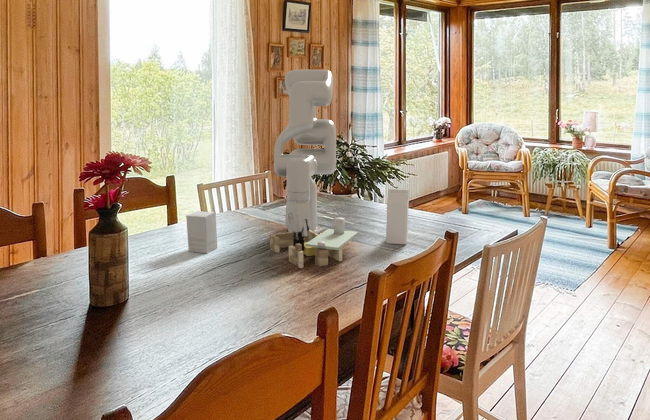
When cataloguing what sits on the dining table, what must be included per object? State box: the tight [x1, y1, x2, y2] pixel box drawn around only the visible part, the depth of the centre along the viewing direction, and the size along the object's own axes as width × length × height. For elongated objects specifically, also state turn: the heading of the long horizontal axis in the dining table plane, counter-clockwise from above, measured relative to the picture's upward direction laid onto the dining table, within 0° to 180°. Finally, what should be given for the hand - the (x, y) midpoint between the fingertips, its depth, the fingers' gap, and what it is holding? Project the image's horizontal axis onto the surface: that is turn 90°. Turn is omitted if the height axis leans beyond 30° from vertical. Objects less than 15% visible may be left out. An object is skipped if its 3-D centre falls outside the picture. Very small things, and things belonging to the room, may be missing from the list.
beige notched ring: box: [269, 230, 343, 269], centre depth 181 cm, size 25×15×7 cm, turn 29°
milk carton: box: [385, 188, 410, 245], centre depth 195 cm, size 7×7×19 cm
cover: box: [305, 217, 359, 250], centre depth 179 cm, size 21×11×6 cm, turn 158°
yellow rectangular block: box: [303, 242, 316, 257], centre depth 184 cm, size 6×4×3 cm, turn 29°
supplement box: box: [185, 210, 218, 254], centre depth 186 cm, size 7×7×13 cm
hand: (298, 250), depth 182 cm, fingers closed
